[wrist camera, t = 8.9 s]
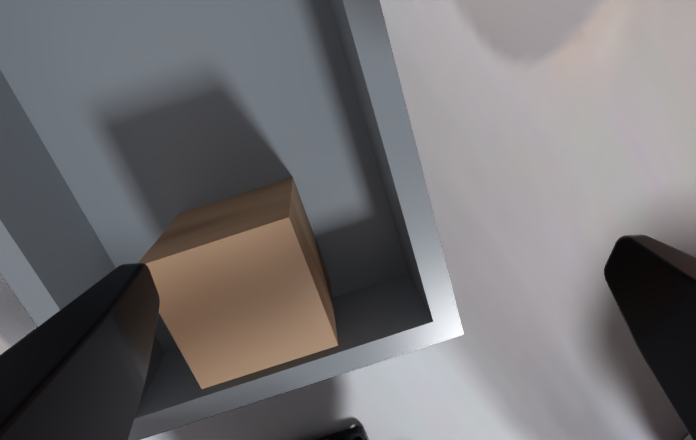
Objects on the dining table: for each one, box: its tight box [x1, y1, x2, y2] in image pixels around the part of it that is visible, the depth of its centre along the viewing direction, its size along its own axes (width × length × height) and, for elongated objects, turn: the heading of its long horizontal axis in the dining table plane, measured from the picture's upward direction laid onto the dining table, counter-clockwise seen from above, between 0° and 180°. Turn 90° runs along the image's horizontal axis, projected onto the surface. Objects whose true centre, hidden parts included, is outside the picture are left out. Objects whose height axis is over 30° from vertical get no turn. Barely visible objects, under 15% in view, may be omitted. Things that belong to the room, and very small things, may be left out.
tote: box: [0, 0, 464, 440], centre depth 15 cm, size 18×14×5 cm
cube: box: [138, 177, 338, 389], centre depth 16 cm, size 5×5×5 cm
